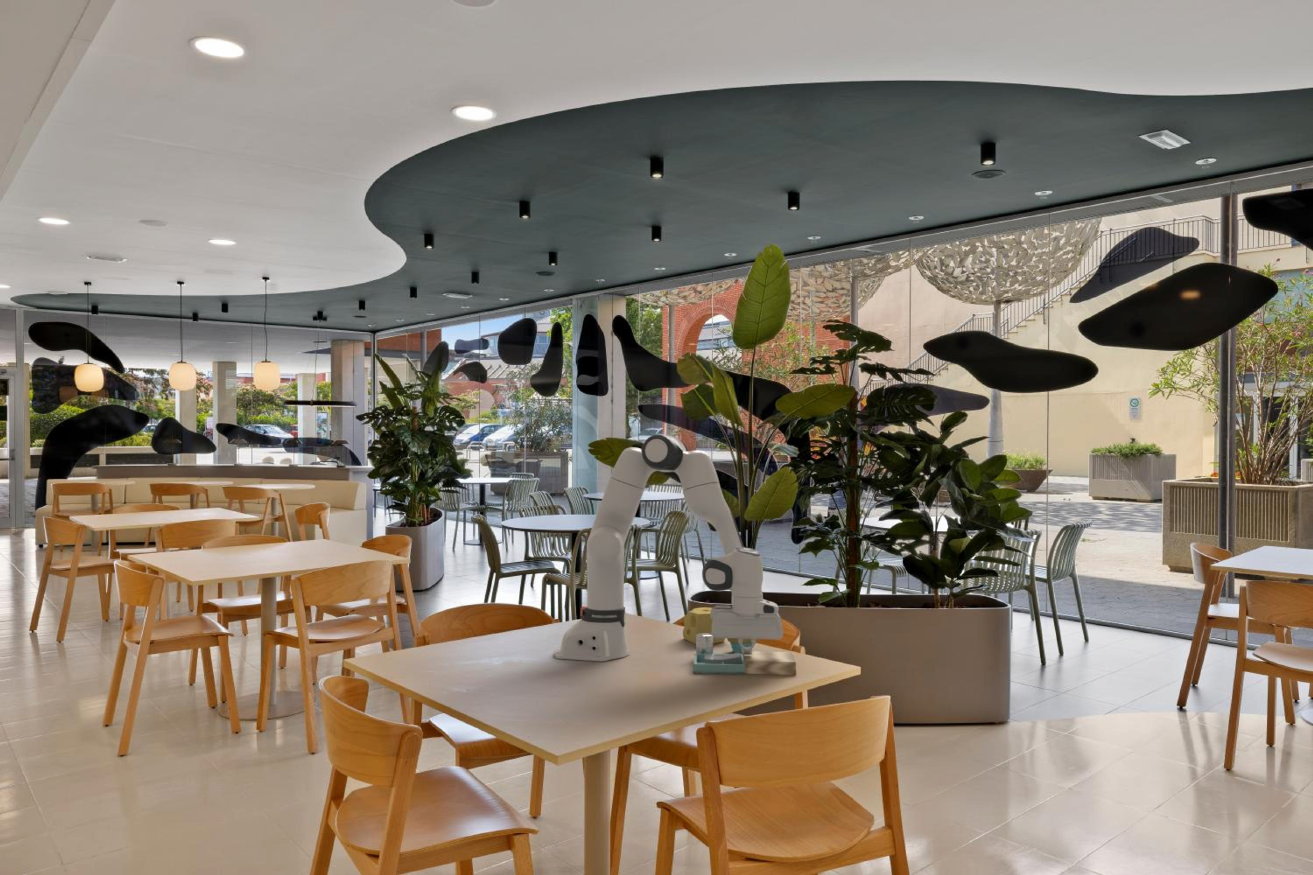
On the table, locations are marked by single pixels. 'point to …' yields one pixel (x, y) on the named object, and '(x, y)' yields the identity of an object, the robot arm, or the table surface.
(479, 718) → the table surface
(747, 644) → the cupcake
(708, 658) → the tile
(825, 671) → the table surface
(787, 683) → the table surface
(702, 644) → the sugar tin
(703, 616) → the cheese
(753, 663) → the board
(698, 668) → the tray
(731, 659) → the tile
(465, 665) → the table surface
